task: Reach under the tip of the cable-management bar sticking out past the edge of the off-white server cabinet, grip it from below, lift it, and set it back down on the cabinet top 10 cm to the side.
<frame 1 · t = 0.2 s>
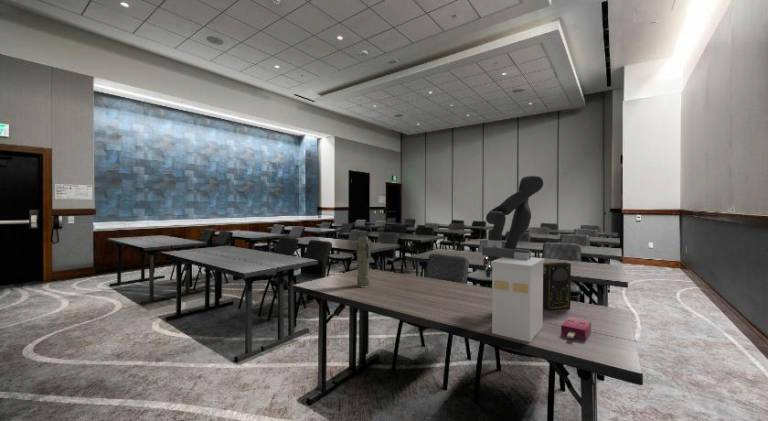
hand: (493, 278, 181), 17 cm above the table, tool pointing down, fingers open, 8 cm apart
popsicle: (575, 336, 148), on the table
cable bar: (505, 257, 162), point 32 cm above the table, touching server cabinet
thermos: (363, 286, 237), on the table
voltmeter: (554, 307, 187), on the table
server cabinet: (517, 329, 154), on the table
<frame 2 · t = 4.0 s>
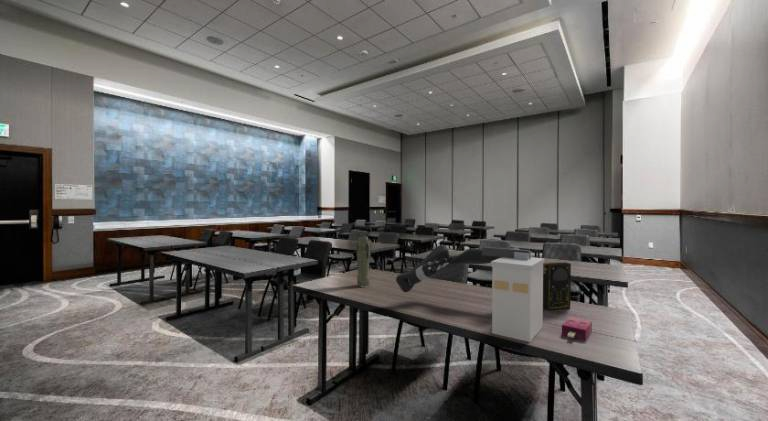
hand: (449, 259, 175), 29 cm above the table, tool pointing upward, fingers open, 8 cm apart
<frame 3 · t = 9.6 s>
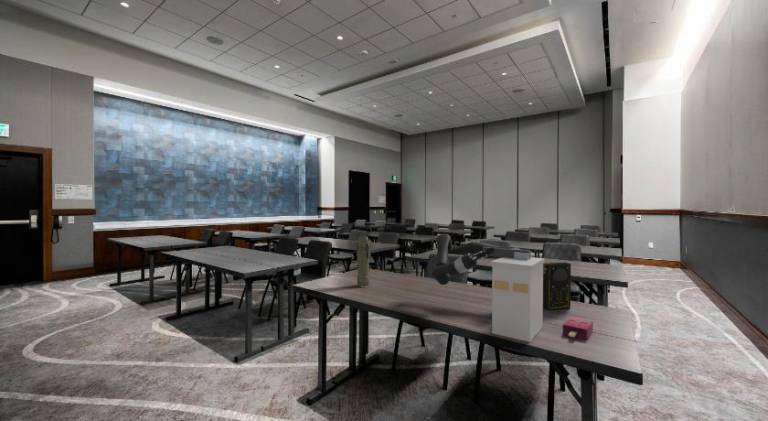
hand: (494, 248, 165), 35 cm above the table, tool pointing upward, fingers closed on cable bar, 2 cm apart
cable bar: (505, 257, 162), point 32 cm above the table, touching gripper, server cabinet
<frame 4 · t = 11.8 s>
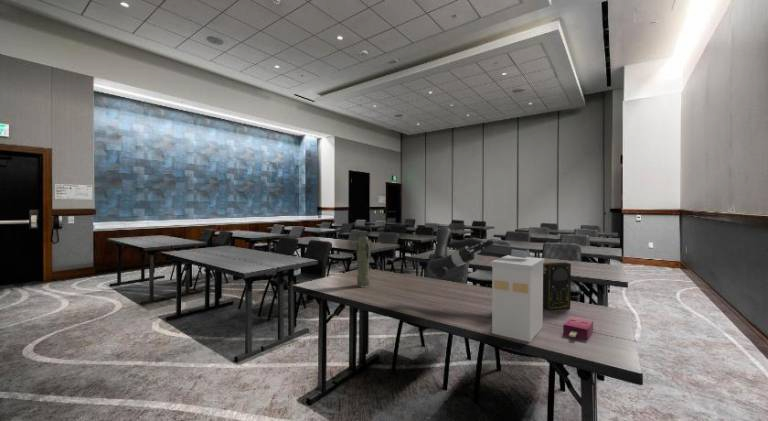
hand: (491, 241, 163), 39 cm above the table, tool pointing upward, fingers closed on cable bar, 2 cm apart
cable bar: (502, 253, 160), point 34 cm above the table, touching gripper
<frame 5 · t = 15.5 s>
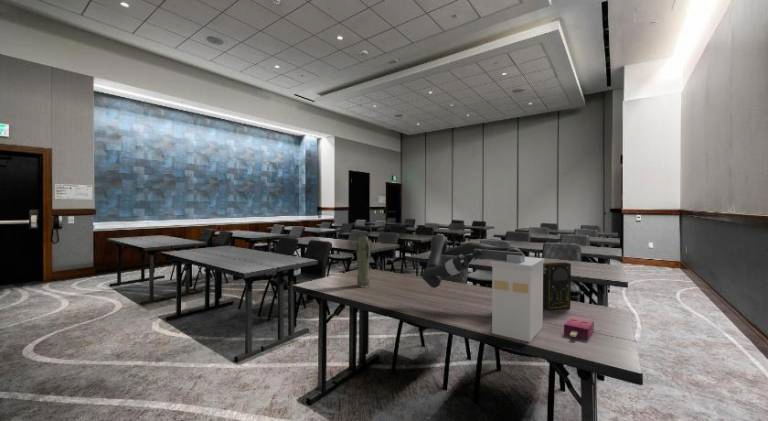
hand: (484, 251, 158), 35 cm above the table, tool pointing upward, fingers open, 8 cm apart
cable bar: (497, 259, 154), point 32 cm above the table, touching server cabinet
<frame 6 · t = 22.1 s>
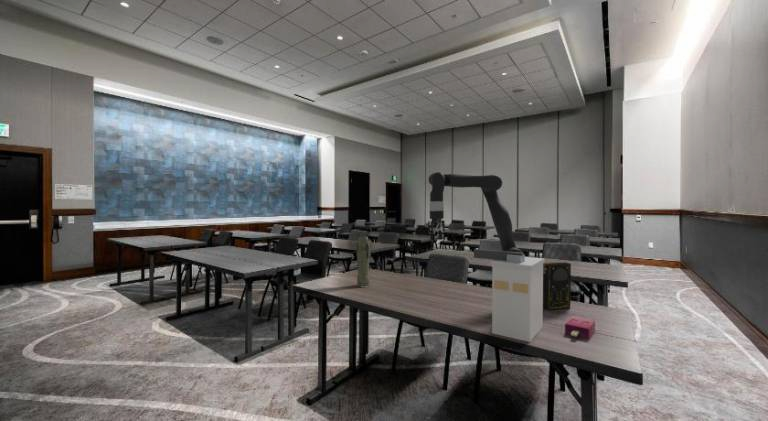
hand: (436, 240, 181), 38 cm above the table, tool pointing down, fingers open, 8 cm apart
at the end: cable bar 0.2 cm from the target spot, point 32.0 cm above the table; cable bar tilted 0°; the gripper is holding nothing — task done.
